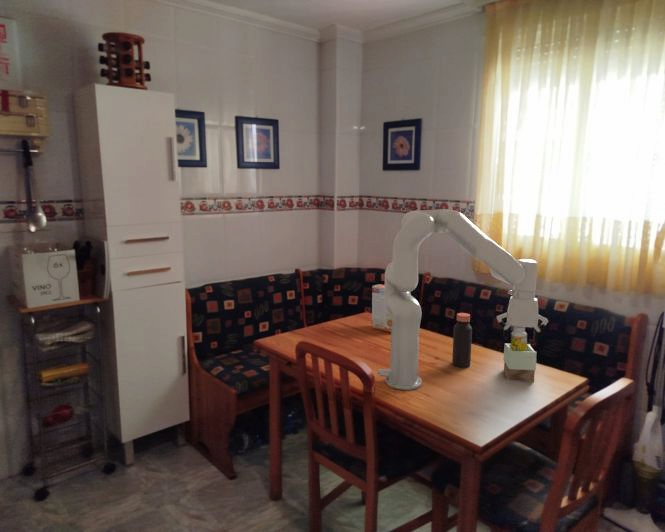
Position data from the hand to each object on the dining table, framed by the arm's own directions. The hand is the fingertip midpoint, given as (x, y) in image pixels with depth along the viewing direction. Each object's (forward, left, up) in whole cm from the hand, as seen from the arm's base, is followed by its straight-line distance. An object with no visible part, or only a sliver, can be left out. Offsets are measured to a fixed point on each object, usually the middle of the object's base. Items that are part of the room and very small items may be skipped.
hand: (520, 340), depth 176 cm
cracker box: (-53, +43, -14) cm, 70 cm away
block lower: (0, 0, -14) cm, 14 cm away
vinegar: (-20, +6, -14) cm, 25 cm away
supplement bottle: (0, 0, -5) cm, 5 cm away
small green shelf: (0, 0, -9) cm, 9 cm away
